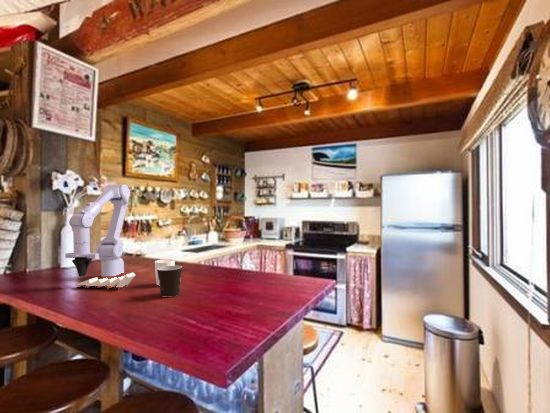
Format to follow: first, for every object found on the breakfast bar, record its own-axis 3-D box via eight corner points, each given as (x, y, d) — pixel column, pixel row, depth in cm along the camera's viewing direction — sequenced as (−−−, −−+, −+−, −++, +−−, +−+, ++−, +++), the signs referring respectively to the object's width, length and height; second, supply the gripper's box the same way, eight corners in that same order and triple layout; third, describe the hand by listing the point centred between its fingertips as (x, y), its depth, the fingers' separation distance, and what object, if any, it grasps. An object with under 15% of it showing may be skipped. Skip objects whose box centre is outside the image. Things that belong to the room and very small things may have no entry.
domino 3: (103, 282, 126) (117, 276, 125) (105, 286, 126) (118, 280, 125) (95, 285, 122) (109, 279, 121) (96, 289, 122) (110, 282, 120)
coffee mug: (178, 298, 107) (177, 270, 107) (153, 298, 107) (153, 270, 107) (188, 289, 119) (187, 263, 119) (166, 289, 119) (165, 264, 119)
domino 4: (113, 283, 125) (126, 274, 124) (115, 287, 125) (128, 278, 124) (105, 286, 121) (118, 277, 120) (107, 289, 121) (120, 280, 120)
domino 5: (123, 284, 124) (133, 272, 123) (125, 287, 124) (135, 275, 123) (115, 287, 120) (125, 274, 119) (118, 290, 120) (128, 277, 119)
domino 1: (83, 282, 128) (97, 277, 127) (85, 285, 128) (98, 280, 127) (75, 284, 124) (88, 279, 122) (76, 288, 124) (89, 283, 122)
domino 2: (93, 282, 127) (107, 277, 126) (95, 286, 127) (108, 280, 126) (85, 285, 123) (99, 279, 122) (86, 289, 123) (100, 283, 121)
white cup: (178, 282, 130) (177, 259, 130) (170, 287, 123) (169, 262, 123) (160, 282, 131) (160, 259, 131) (151, 287, 123) (151, 262, 123)
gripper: (58, 243, 123) (59, 277, 123) (88, 244, 120) (89, 278, 120) (73, 241, 130) (73, 273, 130) (102, 241, 127) (103, 274, 127)
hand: (82, 275), depth 126 cm, fingers closed
